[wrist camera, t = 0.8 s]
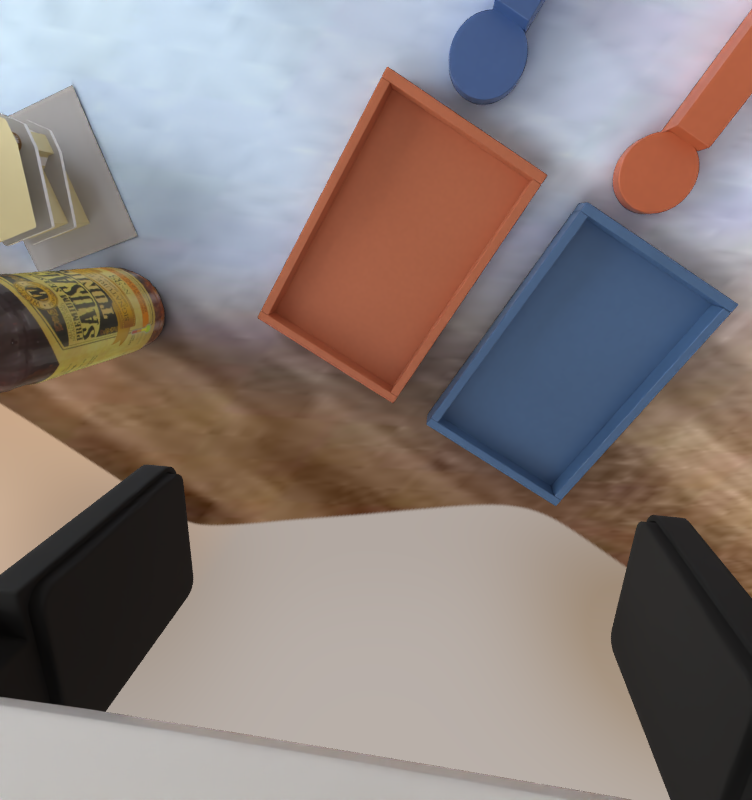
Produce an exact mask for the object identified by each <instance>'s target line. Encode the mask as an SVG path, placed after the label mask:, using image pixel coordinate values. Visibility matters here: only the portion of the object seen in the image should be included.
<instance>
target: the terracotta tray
mask: <svg viewBox="0 0 752 800" xmlns="http://www.w3.org/2000/svg"><path fill="white" fill-rule="evenodd" d="M546 177H547V174H545V173H544V172H542V171H541V170H539V169H538V168H537V167H535V166H534V165H532V164H531V163H529V162H528V161H526V160H525V159H523V158H522V157H520V156H519V155H517V154H516V153H514V152H513V151H511V150H510V149H509V148H507V147H506V146H504V145H503V144H501V143H500V142H498V141H497V140H495V139H494V138H492V137H491V136H489V135H488V134H486V133H485V132H483V131H482V130H480V129H479V128H478V127H476V126H475V125H473V124H472V123H470V122H469V121H467V120H466V119H464V118H463V117H461V116H460V115H458V114H457V113H455V112H454V111H452V110H451V109H449V108H448V107H447V106H445V105H444V104H442V103H441V102H439V101H438V100H436V99H435V98H433V97H432V96H430V95H429V94H427V93H426V92H424V91H423V90H421V89H420V88H419V87H417V86H416V85H414V84H413V83H411V82H410V81H408V80H407V79H405V78H404V77H402V76H401V75H399V74H398V73H396V72H395V71H393V70H392V69H390V68H389V67H387V68H386V69H385V71H384V73H383V75H382V78H381V79H380V81H379V83H378V85H377V87H376V89H375V91H374V93H373V95H372V97H371V99H370V100H369V102H368V104H367V106H366V108H365V110H364V112H363V114H362V116H361V118H360V120H359V122H358V124H357V126H356V128H355V130H354V131H353V133H352V135H351V137H350V139H349V141H348V143H347V145H346V147H345V149H344V151H343V153H342V155H341V157H340V159H339V161H338V162H337V164H336V166H335V168H334V170H333V172H332V174H331V176H330V178H329V180H328V182H327V184H326V186H325V188H324V190H323V192H322V193H321V195H320V197H319V199H318V201H317V203H316V205H315V207H314V209H313V211H312V213H311V215H310V217H309V219H308V221H307V223H306V224H305V226H304V228H303V230H302V232H301V234H300V236H299V238H298V240H297V242H296V244H295V246H294V248H293V250H292V252H291V254H290V255H289V257H288V259H287V261H286V263H285V265H284V267H283V269H282V271H281V273H280V275H279V277H278V279H277V281H276V283H275V285H274V286H273V288H272V290H271V292H270V294H269V296H268V298H267V300H266V302H265V304H264V306H263V308H262V311H261V312H260V313H259V315H258V319H260V320H262V321H263V322H265V323H266V324H268V325H270V326H271V327H273V328H274V329H276V330H277V331H279V332H281V333H282V334H284V335H285V336H287V337H289V338H290V339H292V340H293V341H295V342H296V343H298V344H300V345H301V346H303V347H304V348H306V349H308V350H309V351H311V352H312V353H314V354H316V355H317V356H319V357H320V358H322V359H323V360H325V361H327V362H328V363H330V364H331V365H333V366H335V367H336V368H338V369H339V370H341V371H342V372H344V373H346V374H347V375H349V376H350V377H352V378H354V379H355V380H357V381H358V382H360V383H362V384H363V385H365V386H366V387H368V388H369V389H371V390H373V391H374V392H376V393H377V394H379V395H381V396H382V397H384V398H385V399H387V400H388V401H390V402H392V403H394V401H395V400H396V398H397V396H398V395H399V394H400V392H401V391H402V390H403V388H404V387H405V385H406V384H407V382H408V381H409V379H410V378H411V376H412V375H413V373H414V372H415V370H416V369H417V367H418V366H419V364H420V363H421V361H422V360H423V359H424V357H425V356H426V354H427V353H428V351H429V350H430V348H431V347H432V345H433V344H434V342H435V341H436V339H437V338H438V336H439V335H440V333H441V332H442V331H443V329H444V328H445V326H446V325H447V323H448V322H449V320H450V319H451V317H452V316H453V314H454V313H455V311H456V310H457V308H458V307H459V305H460V304H461V302H462V301H463V300H464V298H465V297H466V295H467V294H468V292H469V291H470V289H471V288H472V286H473V285H474V283H475V282H476V280H477V279H478V277H479V276H480V274H481V273H482V272H483V270H484V269H485V267H486V266H487V264H488V263H489V261H490V260H491V258H492V257H493V255H494V254H495V252H496V251H497V249H498V248H499V246H500V245H501V243H502V242H503V241H504V239H505V238H506V236H507V235H508V233H509V232H510V230H511V229H512V227H513V226H514V224H515V223H516V221H517V220H518V218H519V217H520V215H521V214H522V213H523V211H524V210H525V208H526V207H527V205H528V204H529V202H530V201H531V199H532V198H533V196H534V195H535V193H536V192H537V190H538V189H539V187H540V186H541V184H542V183H543V181H544V180H545V179H546Z"/></svg>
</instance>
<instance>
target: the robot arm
mask: <svg viewBox="0 0 752 800" xmlns="http://www.w3.org/2000/svg"><path fill="white" fill-rule="evenodd" d="M192 585H193V570H192V561H191V551H190V542H189V532H188V523H187V513H186V504H185V495H184V485H183V479H182V477H181V476H180V475H179V474H176V472H175V470H174V469H173V468H172V467H166V466H156V465H143V466H141V467H140V468H139V469H138V470H136V471H135V472H134V473H132V474H131V475H130V476H128V477H127V478H126V479H124V480H123V481H122V482H121V483H119V484H118V485H117V486H115V487H114V488H113V489H111V490H110V491H109V492H108V493H106V494H105V495H104V496H102V497H101V498H100V499H98V500H97V501H96V502H94V503H93V504H92V505H91V506H90V507H88V508H87V509H85V510H84V511H83V512H81V513H80V514H79V515H78V516H76V517H75V518H74V519H72V520H71V521H70V522H68V523H67V524H66V525H65V526H63V527H62V528H61V529H60V530H58V531H57V532H55V533H54V534H53V535H51V536H50V537H49V538H48V539H46V540H45V541H44V542H42V543H41V544H40V545H38V546H37V547H36V548H35V549H33V550H32V551H31V552H29V553H28V554H27V555H25V556H24V557H23V558H22V559H20V560H19V561H18V562H16V563H15V564H14V565H12V566H11V567H10V568H8V569H7V570H6V571H5V572H3V573H2V574H1V575H0V800H630V799H624V798H619V797H614V796H607V795H602V794H596V793H591V792H585V791H579V790H573V789H567V788H562V787H556V786H550V785H544V784H538V783H533V782H527V781H521V780H515V779H509V778H504V777H497V776H492V775H486V774H480V773H474V772H469V771H463V770H457V769H451V768H445V767H440V766H434V765H428V764H422V763H416V762H410V761H404V760H397V759H392V758H385V757H380V756H374V755H368V754H362V753H356V752H350V751H344V750H338V749H332V748H326V747H320V746H313V745H308V744H302V743H295V742H289V741H283V740H277V739H271V738H265V737H259V736H253V735H247V734H240V733H235V732H228V731H222V730H215V729H210V728H203V727H197V726H190V725H185V724H178V723H171V722H165V721H159V720H153V719H147V718H141V717H133V716H128V715H121V714H115V713H109V712H106V710H107V709H108V707H109V706H110V705H111V703H112V702H113V700H114V699H115V698H116V696H117V695H118V693H119V692H120V691H121V689H122V688H123V686H124V685H125V684H126V682H127V681H128V679H129V678H130V676H131V675H132V674H133V672H134V671H135V670H136V668H137V667H138V665H139V664H140V663H141V661H142V660H143V658H144V657H145V655H146V654H147V652H148V651H149V650H150V648H151V647H152V646H153V644H154V643H155V641H156V640H157V639H158V637H159V636H160V635H161V633H162V632H163V630H164V629H165V628H166V626H167V625H168V623H169V622H170V621H171V619H172V618H173V616H174V615H175V614H176V612H177V611H178V609H179V608H180V607H181V605H182V604H183V602H184V601H185V600H186V598H187V597H188V595H189V593H190V591H191V589H192ZM611 644H612V649H613V652H614V655H615V658H616V660H617V663H618V665H619V668H620V670H621V673H622V676H623V678H624V681H625V683H626V686H627V689H628V691H629V694H630V696H631V699H632V702H633V704H634V707H635V709H636V712H637V714H638V717H639V720H640V722H641V725H642V727H643V730H644V732H645V735H646V738H647V740H648V743H649V745H650V748H651V751H652V753H653V755H654V758H655V761H656V763H657V766H658V769H659V771H660V774H661V776H662V779H663V782H664V784H665V787H666V789H667V792H668V794H669V797H670V799H671V800H752V598H751V597H750V596H749V594H748V593H747V592H746V591H745V590H744V588H743V587H742V586H741V585H740V583H739V582H738V581H737V580H736V579H735V577H734V576H733V575H732V574H731V572H730V571H729V570H728V569H727V568H726V566H725V565H724V564H723V563H722V562H721V560H720V559H719V558H718V557H717V555H716V554H715V553H714V552H713V551H712V549H711V548H710V547H709V546H708V544H707V543H706V542H705V541H704V540H703V538H702V537H701V536H700V535H699V534H698V532H697V531H696V530H695V529H694V527H693V526H692V525H691V524H690V523H689V521H687V520H686V519H685V518H677V517H667V516H657V515H652V516H650V517H649V518H648V520H647V522H642V521H641V522H639V524H638V525H637V528H636V531H635V536H634V540H633V544H632V548H631V552H630V556H629V561H628V565H627V569H626V573H625V578H624V582H623V585H622V590H621V594H620V598H619V602H618V606H617V610H616V614H615V619H614V623H613V627H612V632H611Z"/></svg>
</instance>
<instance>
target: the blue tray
mask: <svg viewBox="0 0 752 800" xmlns="http://www.w3.org/2000/svg"><path fill="white" fill-rule="evenodd" d="M737 306H738V304H737V303H736V302H734V301H733V300H731V299H730V298H728V297H727V296H725V295H724V294H722V293H721V292H719V291H718V290H717V289H715V288H714V287H712V286H711V285H709V284H708V283H706V282H705V281H703V280H702V279H700V278H699V277H697V276H696V275H694V274H693V273H691V272H690V271H688V270H687V269H686V268H684V267H683V266H681V265H680V264H678V263H677V262H675V261H674V260H672V259H671V258H669V257H668V256H666V255H665V254H663V253H662V252H660V251H659V250H657V249H656V248H655V247H653V246H652V245H650V244H649V243H647V242H646V241H644V240H643V239H641V238H640V237H638V236H637V235H635V234H634V233H632V232H631V231H629V230H628V229H627V228H625V227H624V226H622V225H621V224H619V223H618V222H616V221H615V220H613V219H612V218H610V217H609V216H607V215H606V214H604V213H603V212H601V211H600V210H598V209H597V208H596V207H594V206H593V205H591V204H590V203H588V202H585V203H579V204H578V205H577V207H576V208H575V210H574V211H573V212H572V214H571V215H570V216H569V218H568V219H567V221H566V222H565V223H564V225H563V226H562V228H561V229H560V230H559V232H558V233H557V235H556V236H555V237H554V239H553V240H552V242H551V243H550V244H549V246H548V247H547V249H546V250H545V251H544V253H543V254H542V256H541V257H540V258H539V260H538V261H537V263H536V264H535V265H534V267H533V268H532V270H531V271H530V272H529V274H528V275H527V277H526V278H525V279H524V281H523V282H522V284H521V285H520V286H519V288H518V289H517V290H516V292H515V293H514V295H513V296H512V297H511V299H510V300H509V302H508V303H507V304H506V306H505V307H504V309H503V310H502V311H501V313H500V314H499V316H498V317H497V318H496V320H495V321H494V323H493V324H492V325H491V327H490V328H489V330H488V331H487V332H486V334H485V335H484V337H483V338H482V339H481V341H480V342H479V344H478V345H477V346H476V348H475V349H474V351H473V352H472V353H471V355H470V356H469V358H468V359H467V360H466V362H465V363H464V364H463V366H462V367H461V369H460V370H459V371H458V373H457V374H456V376H455V377H454V378H453V380H452V381H451V383H450V384H449V385H448V387H447V388H446V390H445V391H444V392H443V394H442V395H441V397H440V398H439V399H438V401H437V402H436V404H435V405H434V406H433V408H432V409H431V411H430V412H429V413H428V416H427V425H428V426H430V427H431V428H433V429H434V430H436V431H438V432H439V433H441V434H442V435H444V436H445V437H447V438H449V439H450V440H452V441H453V442H455V443H457V444H458V445H460V446H461V447H463V448H465V449H466V450H468V451H469V452H471V453H472V454H474V455H476V456H477V457H479V458H480V459H482V460H484V461H485V462H487V463H488V464H490V465H491V466H493V467H495V468H496V469H498V470H499V471H501V472H503V473H504V474H506V475H507V476H509V477H511V478H512V479H514V480H515V481H517V482H518V483H520V484H522V485H523V486H525V487H526V488H528V489H530V490H531V491H533V492H534V493H536V494H537V495H539V496H541V497H542V498H544V499H545V500H547V501H549V502H550V503H552V504H553V505H555V506H556V505H557V504H558V503H559V502H560V501H561V500H562V499H563V497H564V496H565V495H566V494H567V493H568V492H569V491H570V490H571V489H572V488H573V486H574V485H575V484H576V483H577V482H578V481H579V480H580V479H581V478H582V477H583V475H584V474H585V473H586V472H587V471H588V470H589V469H590V468H591V467H592V465H593V464H594V463H595V462H596V461H597V460H598V459H599V458H600V457H601V456H602V454H603V453H604V452H605V451H606V450H607V449H608V448H609V447H610V446H611V445H612V443H613V442H614V441H615V440H616V439H617V438H618V437H619V436H620V435H621V434H622V432H623V431H624V430H625V429H626V428H627V427H628V426H629V425H630V424H631V423H632V421H633V420H634V419H635V418H636V417H637V416H638V415H639V414H640V413H641V412H642V410H643V409H644V408H645V407H646V406H647V405H648V404H649V403H650V402H651V401H652V399H653V398H654V397H655V396H656V395H657V394H658V393H659V392H660V391H661V390H662V388H663V387H664V386H665V385H666V384H667V383H668V382H669V381H670V380H671V379H672V377H673V376H674V375H675V374H676V373H677V372H678V371H679V370H680V369H681V367H682V366H683V365H684V364H685V363H686V362H687V361H688V360H689V359H690V358H691V356H692V355H693V354H694V353H695V352H696V351H697V350H698V349H699V348H700V347H701V345H702V344H703V343H704V342H705V341H706V340H707V339H708V338H709V337H710V336H711V334H712V333H713V332H714V331H715V330H716V329H717V328H718V327H719V326H720V325H721V323H722V322H723V321H724V320H725V319H726V318H727V317H728V316H729V315H730V312H732V311H733V310H734V309H735V308H736V307H737Z"/></svg>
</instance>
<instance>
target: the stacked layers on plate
mask: <svg viewBox="0 0 752 800" xmlns="http://www.w3.org/2000/svg"><path fill="white" fill-rule="evenodd" d="M136 236H137V233H136V231H135V229H134V226H133V224H132V222H131V220H130V217H129V215H128V213H127V210H126V208H125V206H124V203H123V201H122V199H121V196H120V194H119V192H118V189H117V187H116V185H115V183H114V180H113V178H112V176H111V173H110V171H109V169H108V166H107V164H106V162H105V159H104V157H103V155H102V153H101V150H100V148H99V146H98V143H97V141H96V139H95V136H94V134H93V132H92V129H91V127H90V125H89V123H88V120H87V118H86V116H85V113H84V111H83V109H82V106H81V104H80V102H79V99H78V97H77V95H76V93H75V90H74V88H73V86H72V85H71V86H69V87H67V88H65V89H63V90H61V91H59V92H57V93H55V94H53V95H51V96H49V97H47V98H45V99H43V100H41V101H38V102H36V103H34V104H32V105H30V106H28V107H26V108H24V109H22V110H20V111H18V112H16V113H14V114H12V115H10V116H6V115H4V114H2V113H0V242H3V244H4V245H6V246H10V245H13V244H15V243H18V242H20V241H23V242H24V244H25V246H26V248H27V250H28V252H29V254H30V256H31V258H32V260H33V262H34V264H35V266H36V268H37V270H38V272H43V271H48V270H51V269H53V268H56V267H58V266H61V265H64V264H66V263H69V262H71V261H74V260H77V259H79V258H82V257H84V256H87V255H90V254H92V253H95V252H97V251H100V250H103V249H105V248H108V247H110V246H113V245H115V244H118V243H121V242H123V241H126V240H128V239H131V238H134V237H136Z"/></svg>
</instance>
